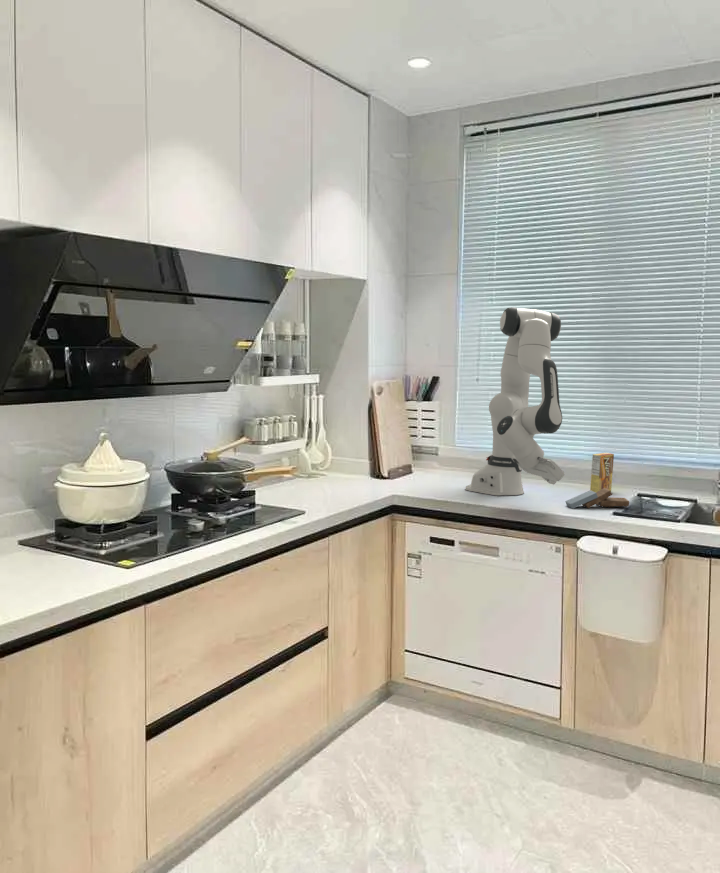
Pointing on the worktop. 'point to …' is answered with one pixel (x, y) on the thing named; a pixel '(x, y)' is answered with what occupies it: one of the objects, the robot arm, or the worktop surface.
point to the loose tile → (581, 499)
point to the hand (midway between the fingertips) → (552, 482)
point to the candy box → (601, 471)
